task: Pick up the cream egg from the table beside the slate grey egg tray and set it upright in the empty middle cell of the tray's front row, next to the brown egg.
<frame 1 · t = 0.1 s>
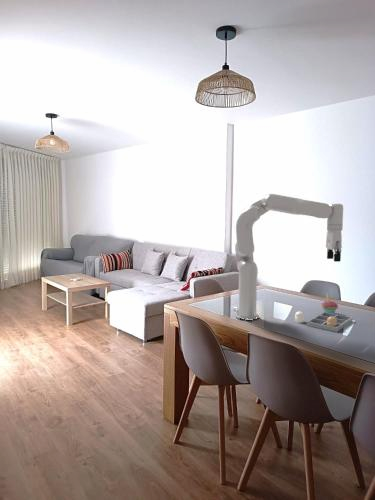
hand: (333, 260, 193), 31 cm above the table, tool pointing down, fingers open, 9 cm apart
cupcake: (329, 314, 203), on the table
cream egg: (299, 322, 189), on the table
brown egg: (331, 328, 178), resting on egg tray
egg tray: (329, 324, 185), on the table
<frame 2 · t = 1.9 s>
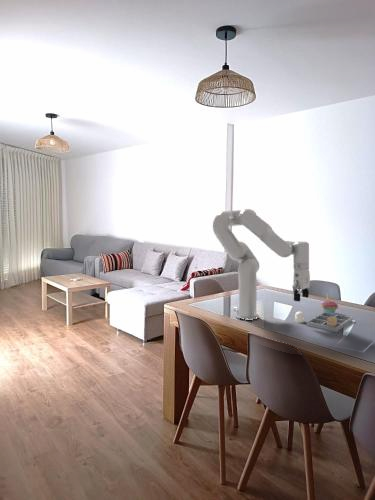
hand: (301, 299, 187), 12 cm above the table, tool pointing down, fingers open, 9 cm apart
nothing on the table moved.
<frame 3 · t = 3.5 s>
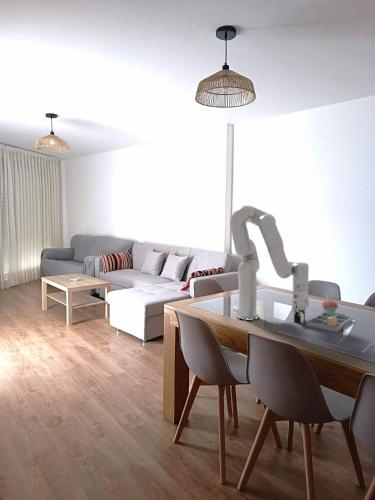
hand: (299, 321, 189), 1 cm above the table, tool pointing down, fingers closed on cream egg, 4 cm apart
cream egg: (299, 322, 189), on the table, touching gripper
everything else where it was.
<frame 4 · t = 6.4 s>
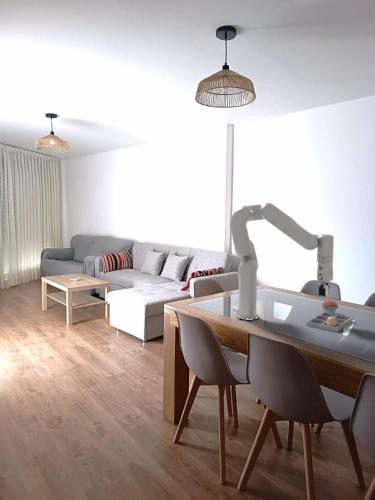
hand: (323, 294, 186), 15 cm above the table, tool pointing down, fingers closed on cream egg, 4 cm apart
cream egg: (323, 295, 186), point 14 cm above the table, touching gripper
everything else where it was.
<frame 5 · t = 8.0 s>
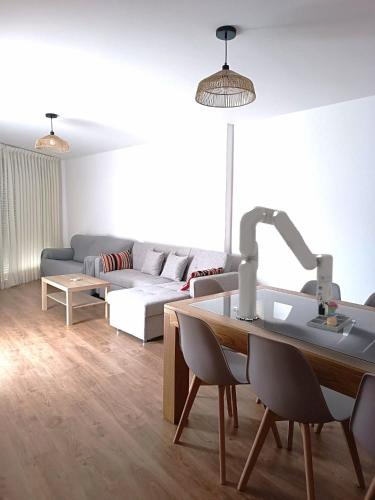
hand: (323, 313, 187), 5 cm above the table, tool pointing down, fingers closed on cream egg, 4 cm apart
cream egg: (323, 314, 187), point 4 cm above the table, touching gripper
everything else where it was.
when the fingers open (4 cm above the table, at t = 9.1 s): cream egg drops 2 cm, resting on egg tray.
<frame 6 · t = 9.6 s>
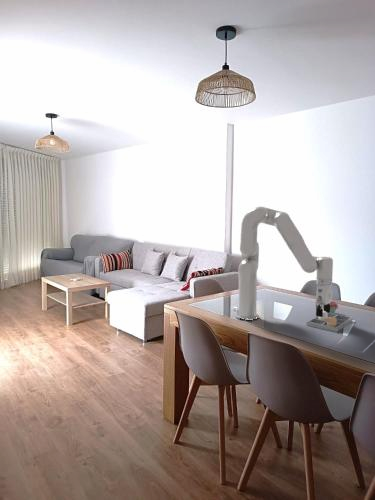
hand: (323, 314, 187), 4 cm above the table, tool pointing down, fingers open, 9 cm apart
cream egg: (322, 321, 188), point 1 cm above the table, touching egg tray
everything else where it was.
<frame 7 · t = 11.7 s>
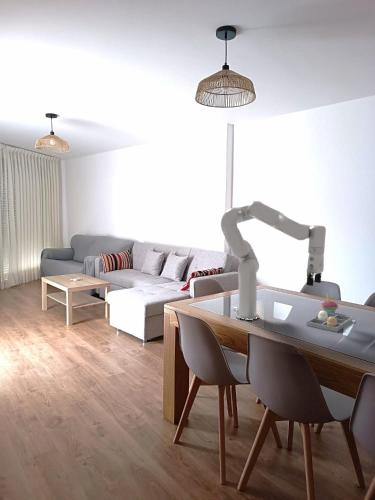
hand: (313, 283, 185), 20 cm above the table, tool pointing down, fingers open, 9 cm apart
nothing on the table moved.
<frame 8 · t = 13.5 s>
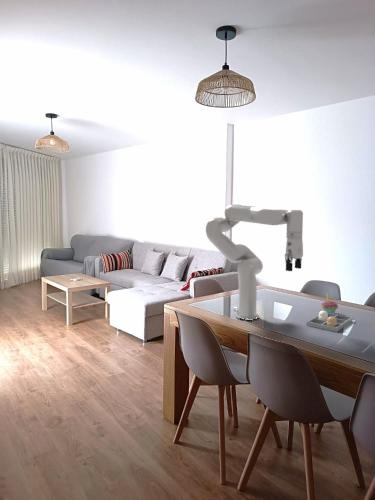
hand: (293, 269, 182), 28 cm above the table, tool pointing down, fingers open, 9 cm apart
nothing on the table moved.
at the end: cream egg 0.1 cm from the target spot on the egg tray, point 0.5 cm above the egg tray's base; cream egg tilted 1°; the gripper is holding nothing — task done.
